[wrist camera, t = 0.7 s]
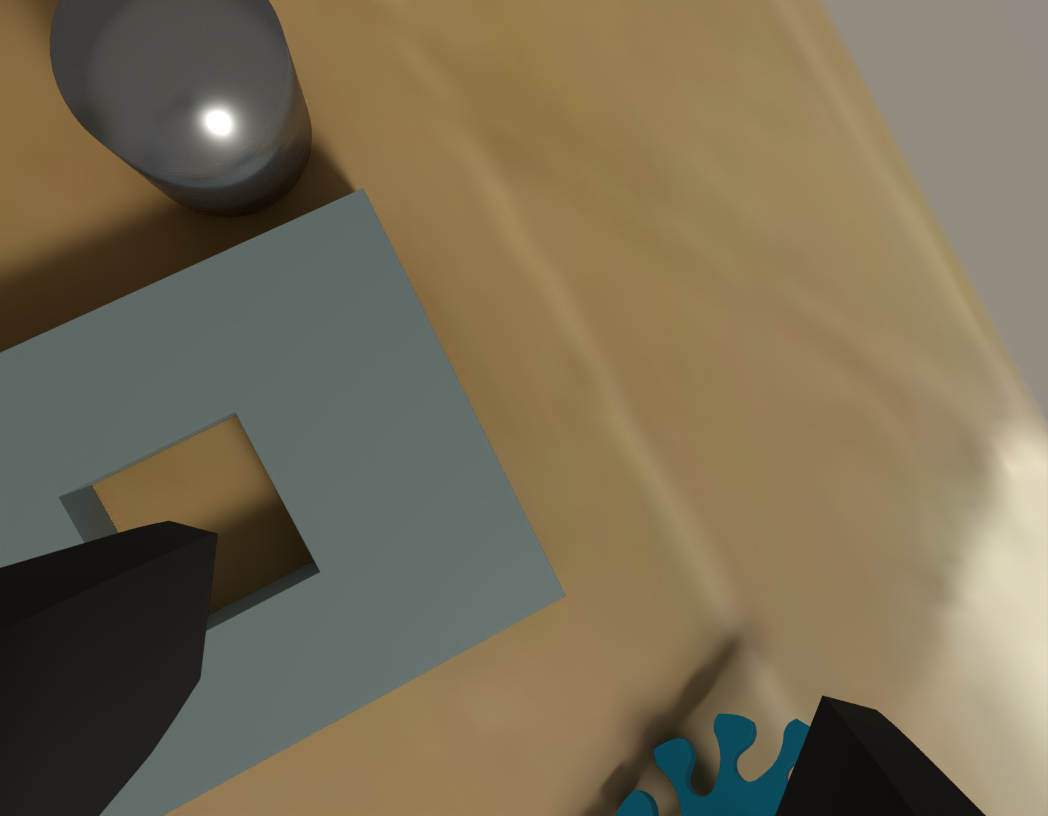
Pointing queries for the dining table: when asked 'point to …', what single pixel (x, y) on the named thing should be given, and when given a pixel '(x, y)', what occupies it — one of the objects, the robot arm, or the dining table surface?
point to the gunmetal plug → (188, 96)
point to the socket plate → (282, 479)
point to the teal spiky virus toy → (723, 773)
